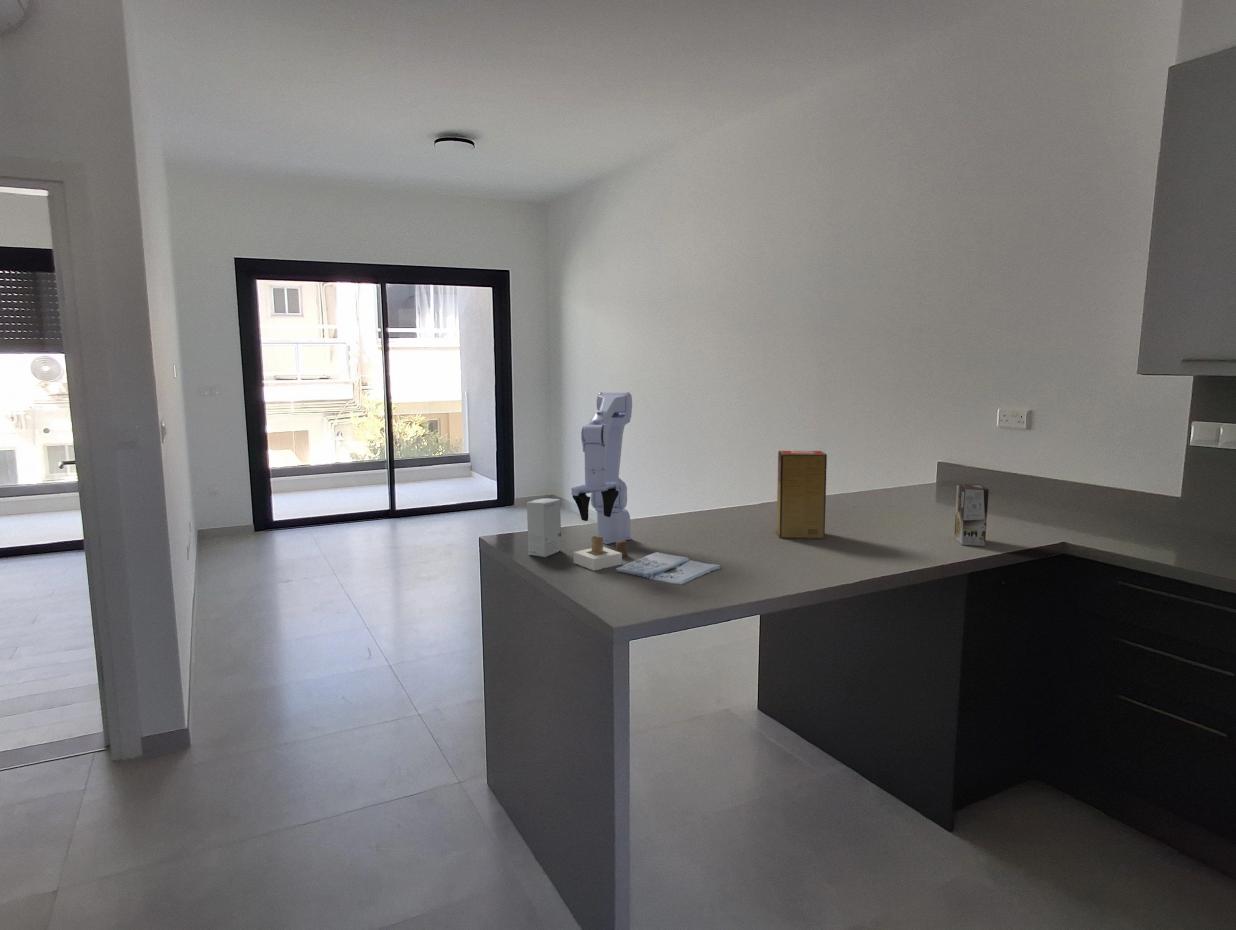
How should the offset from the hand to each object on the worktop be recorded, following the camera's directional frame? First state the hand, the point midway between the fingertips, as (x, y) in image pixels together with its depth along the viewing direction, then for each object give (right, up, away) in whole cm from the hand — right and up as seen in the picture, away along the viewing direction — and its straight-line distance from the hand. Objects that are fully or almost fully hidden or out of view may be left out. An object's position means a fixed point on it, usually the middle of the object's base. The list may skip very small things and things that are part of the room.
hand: (596, 518), depth 201 cm
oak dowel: (+1, -11, -8) cm, 14 cm away
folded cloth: (+19, -13, -14) cm, 27 cm away
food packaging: (+60, -7, +20) cm, 64 cm away
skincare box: (-14, -10, +3) cm, 18 cm away
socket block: (+1, -11, -8) cm, 14 cm away
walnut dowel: (+7, -10, -1) cm, 12 cm away
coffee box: (+106, -8, +10) cm, 107 cm away
